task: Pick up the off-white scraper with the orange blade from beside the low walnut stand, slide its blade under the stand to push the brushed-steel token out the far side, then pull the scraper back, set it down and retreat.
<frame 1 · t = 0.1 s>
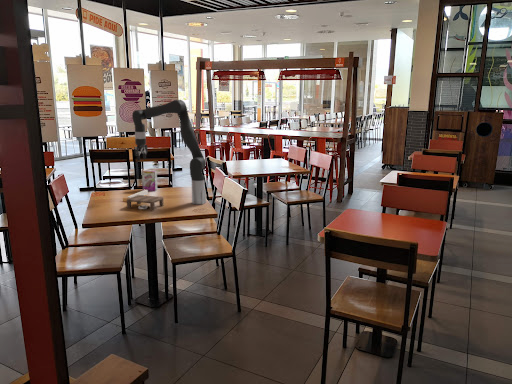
hand: (141, 159, 298), 29 cm above the table, tool pointing down, fingers open, 8 cm apart
steel token: (142, 208, 277), on the table
scraper: (141, 196, 311), on the table
candy bar box: (150, 190, 330), on the table
low walnut stand: (145, 206, 281), on the table
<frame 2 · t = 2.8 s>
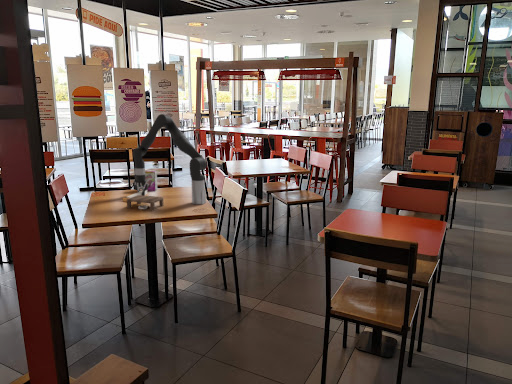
hand: (141, 195, 311), 0 cm above the table, tool pointing down, fingers closed on scraper, 2 cm apart
scraper: (141, 196, 311), on the table, touching gripper
everything else where it was.
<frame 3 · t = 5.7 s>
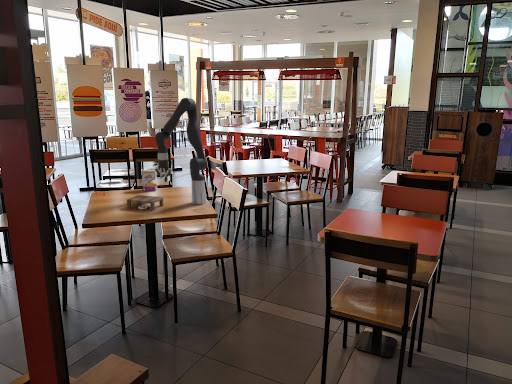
hand: (164, 181, 303), 13 cm above the table, tool pointing down, fingers closed on scraper, 2 cm apart
scraper: (164, 181, 303), point 13 cm above the table, touching gripper
everything else where it was.
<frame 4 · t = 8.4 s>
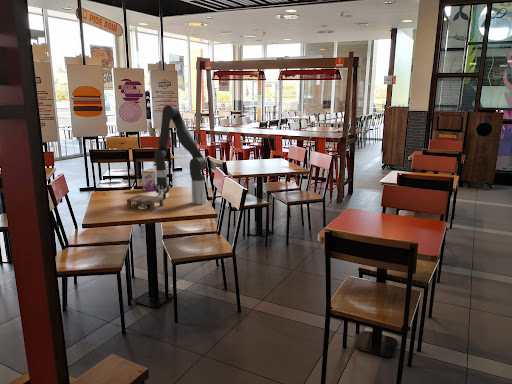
hand: (162, 198, 302), 1 cm above the table, tool pointing down, fingers closed on scraper, 2 cm apart
scraper: (162, 198, 302), on the table, touching gripper
everything else where it was.
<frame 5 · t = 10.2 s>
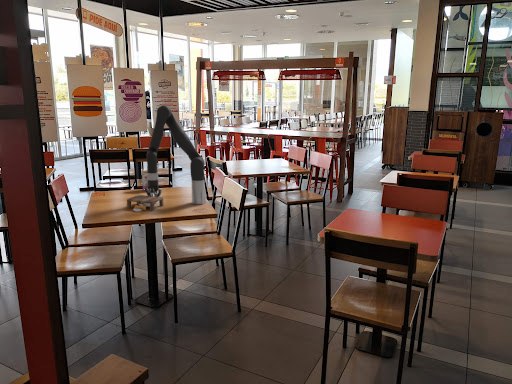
hand: (154, 202, 291), 1 cm above the table, tool pointing down, fingers closed on scraper, 2 cm apart
steel token: (137, 210, 272), on the table, touching scraper
scraper: (154, 202, 292), on the table, touching gripper, steel token
everything else where it was.
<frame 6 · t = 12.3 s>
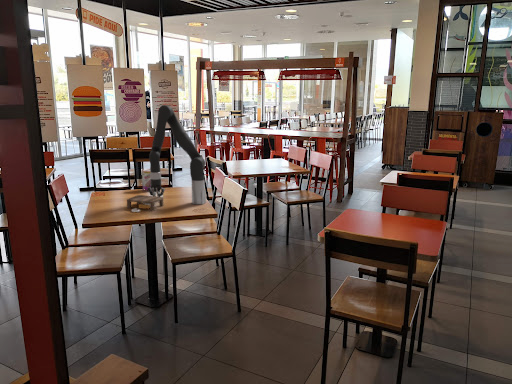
hand: (156, 201, 294), 1 cm above the table, tool pointing down, fingers closed on scraper, 2 cm apart
steel token: (136, 211, 270), on the table
scraper: (157, 201, 295), on the table, touching gripper
everything else where it was.
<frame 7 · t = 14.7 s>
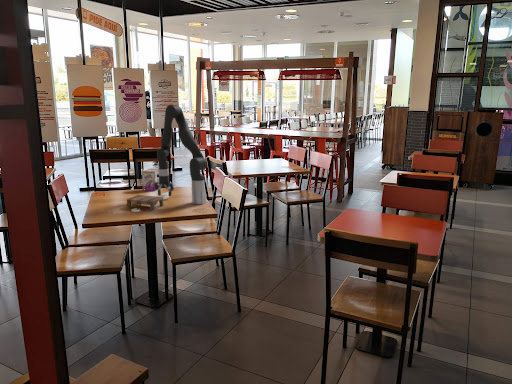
hand: (164, 195, 305), 2 cm above the table, tool pointing down, fingers open, 8 cm apart
scraper: (165, 198, 306), on the table
everything else where it was.
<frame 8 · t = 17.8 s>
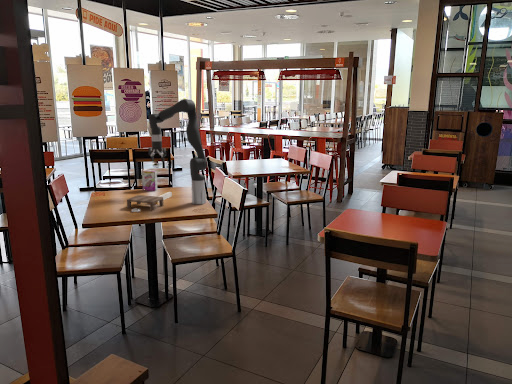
hand: (157, 161, 311), 26 cm above the table, tool pointing down, fingers open, 8 cm apart
nothing on the table moved.
at the end: steel token inside the target area (4.3 cm from its centre), on the table; scraper inside the target area (1.3 cm from its centre), on the table; the gripper is holding nothing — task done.
